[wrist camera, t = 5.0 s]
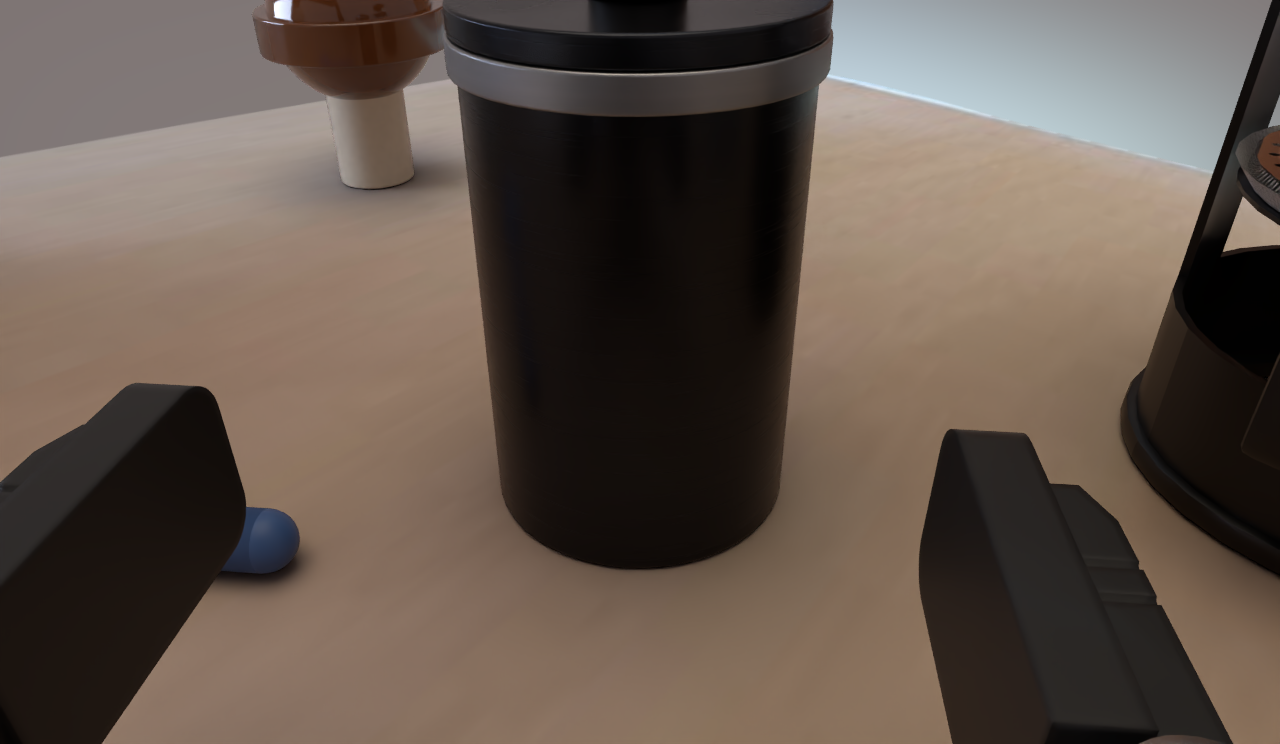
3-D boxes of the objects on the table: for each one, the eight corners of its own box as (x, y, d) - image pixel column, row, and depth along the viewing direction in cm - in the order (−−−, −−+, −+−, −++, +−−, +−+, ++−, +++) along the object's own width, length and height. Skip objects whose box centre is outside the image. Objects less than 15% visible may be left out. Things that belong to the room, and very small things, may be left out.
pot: (459, 564, 17) (369, -51, 12) (526, 386, 23) (487, -96, 17) (793, 586, 17) (866, -47, 11) (781, 398, 22) (827, -94, 16)
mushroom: (258, 205, 33) (195, -62, 28) (329, 147, 39) (286, -83, 34) (436, 211, 32) (401, -60, 28) (481, 152, 38) (458, -82, 33)
